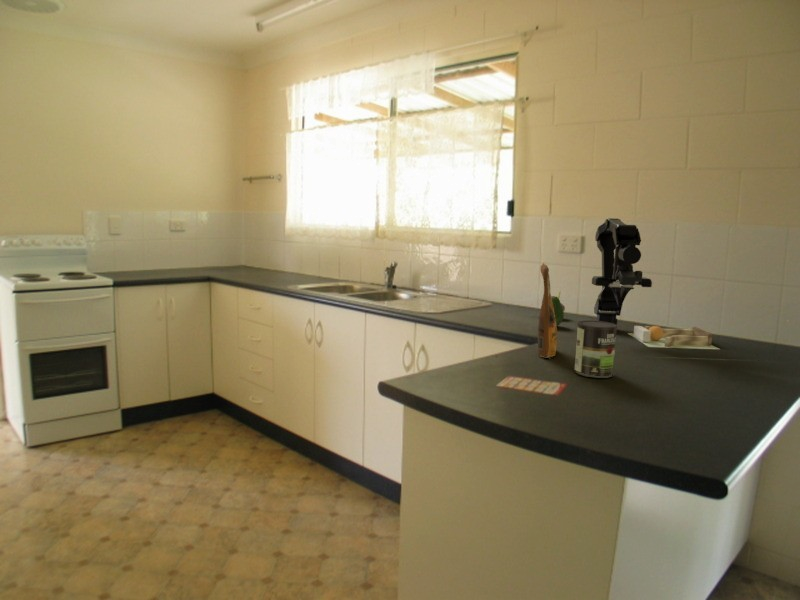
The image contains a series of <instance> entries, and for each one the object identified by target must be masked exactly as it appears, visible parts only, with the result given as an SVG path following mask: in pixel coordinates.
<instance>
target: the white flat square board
mask: <svg viewBox="0 0 800 600" xmlns="http://www.w3.org/2000/svg"><path fill="white" fill-rule="evenodd" d="M627 335H629V336H631V337H632V338H634V339H635V340H637V341H639V342H640V343H642V344H644V345H645V346H646V347H648V348H664V349H665V348H667V349H669V348H670V349H696V350H698V349H699V350H720V348H718V347H717V346H714V345H712V344H711V346H700V345H673V346H670V347H665V338H663V337H662V338H661V339H659V340H652V339H650V342H642V341H641V340H639V339H638V338H636V337H634V332H627Z"/></svg>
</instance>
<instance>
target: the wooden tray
mask: <svg viewBox="0 0 800 600" xmlns="http://www.w3.org/2000/svg"><path fill="white" fill-rule="evenodd" d="M651 327H652V326H648V325H645V326H644V328H646V329H648V330H649V328H651ZM660 328H661V329H662V330H663V338H665V347H670V346H673V345H700V346H711V345H712V340H713V338H712V337H713V334H712V333H711V332H708V331H706V330H703V329H701V328H699V327H697V326H692V328H691V329H690V328H689V329H684V328H662V327H660Z"/></svg>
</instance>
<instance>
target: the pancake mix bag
mask: <svg viewBox="0 0 800 600" xmlns="http://www.w3.org/2000/svg"><path fill="white" fill-rule="evenodd" d="M549 270H550V269H549V267H548V265H547V264H545V263H544V262H543V263H542V264H541V265H540V273H541V276H542V278H543V296H542V301H541V306H540V312H539V317H538V326H537V327H538V328H537V351H538V356H539V355H542V356H544V357H549V356H556V353H557V348H558V347H557V346H558V328H557V327H558V326H556V319H555V314H554V308H553V303H552V298H551V296H552V295H551V294H552V293H551V279H550V273H549Z"/></svg>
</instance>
